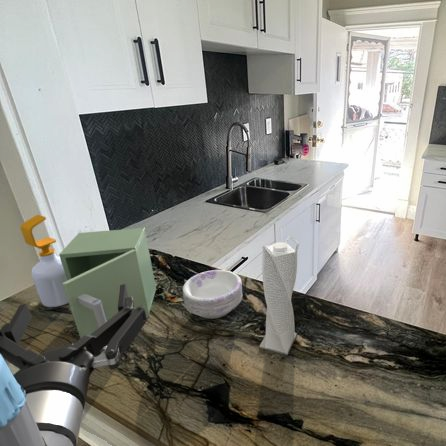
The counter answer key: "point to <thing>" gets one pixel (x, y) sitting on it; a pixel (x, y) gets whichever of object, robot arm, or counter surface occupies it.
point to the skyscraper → (279, 295)
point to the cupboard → (109, 254)
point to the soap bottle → (46, 267)
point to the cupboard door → (104, 292)
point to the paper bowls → (212, 293)
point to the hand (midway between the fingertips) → (77, 300)
